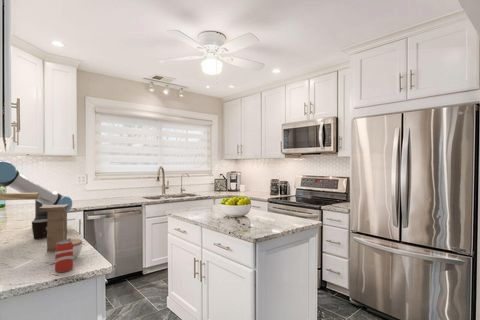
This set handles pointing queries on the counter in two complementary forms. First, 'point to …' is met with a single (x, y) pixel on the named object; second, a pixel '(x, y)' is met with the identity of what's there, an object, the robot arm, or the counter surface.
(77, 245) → the lidded jar
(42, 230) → the coffee mug
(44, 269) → the counter surface
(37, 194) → the tan wooden bar
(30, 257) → the counter surface
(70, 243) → the beverage can
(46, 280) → the counter surface
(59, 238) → the walnut stand
